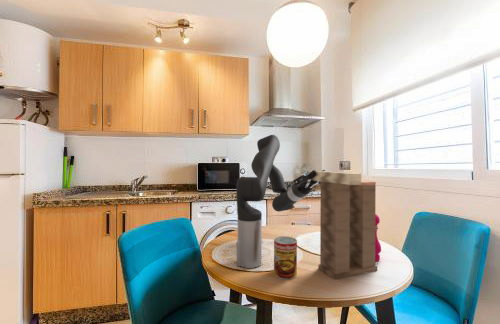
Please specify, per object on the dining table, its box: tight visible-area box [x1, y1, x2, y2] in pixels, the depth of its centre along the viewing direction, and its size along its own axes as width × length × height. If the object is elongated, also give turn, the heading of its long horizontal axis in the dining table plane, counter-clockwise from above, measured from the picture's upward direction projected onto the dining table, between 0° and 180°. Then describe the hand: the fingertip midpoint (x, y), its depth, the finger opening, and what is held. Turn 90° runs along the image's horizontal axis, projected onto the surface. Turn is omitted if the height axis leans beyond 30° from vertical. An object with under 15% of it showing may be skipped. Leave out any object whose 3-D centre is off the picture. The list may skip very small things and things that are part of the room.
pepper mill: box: [375, 213, 382, 262], centre depth 100 cm, size 7×7×20 cm
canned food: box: [273, 235, 298, 280], centre depth 86 cm, size 8×8×12 cm
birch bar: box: [306, 170, 362, 185], centre depth 89 cm, size 24×4×4 cm, turn 22°
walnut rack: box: [317, 180, 378, 280], centre depth 90 cm, size 9×19×32 cm, turn 112°
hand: (320, 172), depth 95 cm, fingers closed on birch bar, 4 cm apart
